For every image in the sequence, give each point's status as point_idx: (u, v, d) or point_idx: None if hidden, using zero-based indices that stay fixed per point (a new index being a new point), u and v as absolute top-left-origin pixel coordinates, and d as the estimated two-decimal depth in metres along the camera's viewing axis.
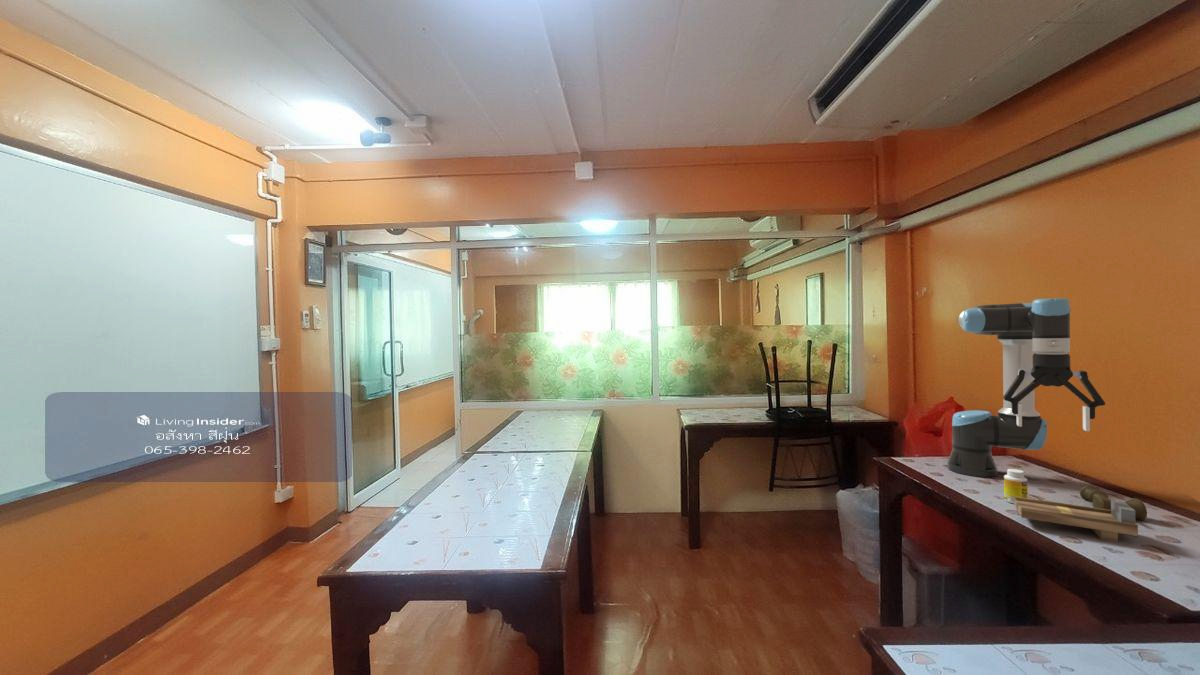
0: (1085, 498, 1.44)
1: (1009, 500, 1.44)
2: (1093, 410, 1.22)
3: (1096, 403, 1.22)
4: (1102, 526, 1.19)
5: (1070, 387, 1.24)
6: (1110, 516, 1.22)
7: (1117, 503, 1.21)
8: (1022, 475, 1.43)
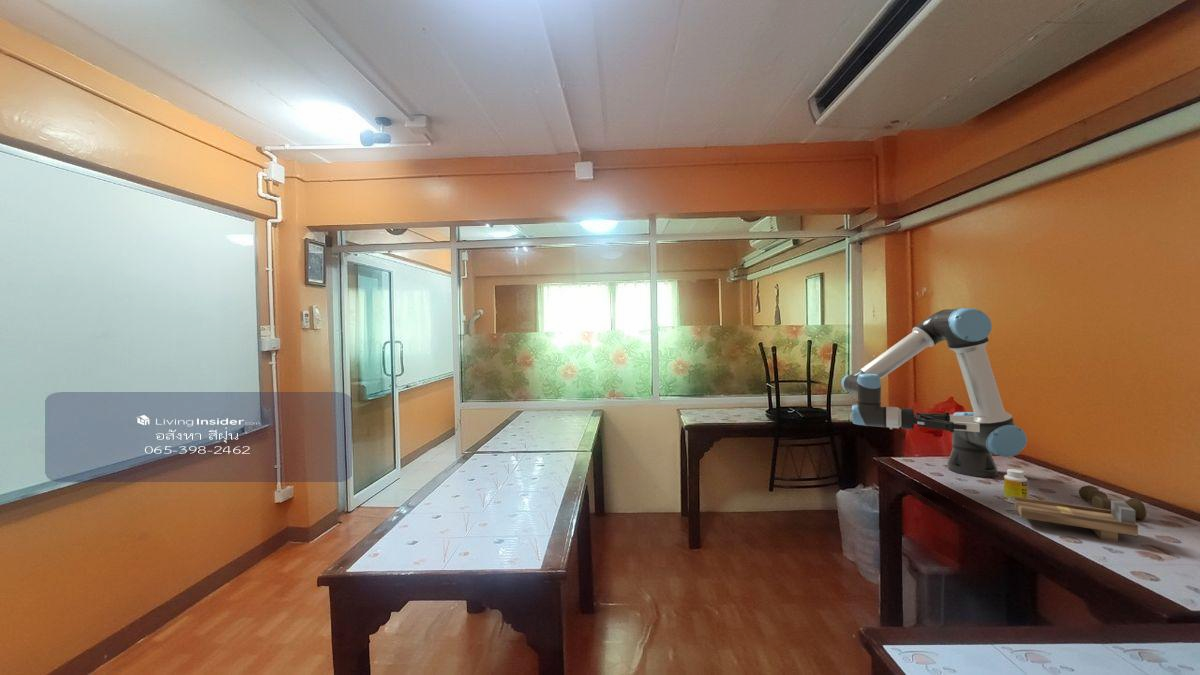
0: (1084, 498, 1.44)
1: (1009, 500, 1.44)
2: None
3: None
4: (1102, 526, 1.19)
5: None
6: (1110, 516, 1.22)
7: (1117, 503, 1.21)
8: (1022, 475, 1.43)
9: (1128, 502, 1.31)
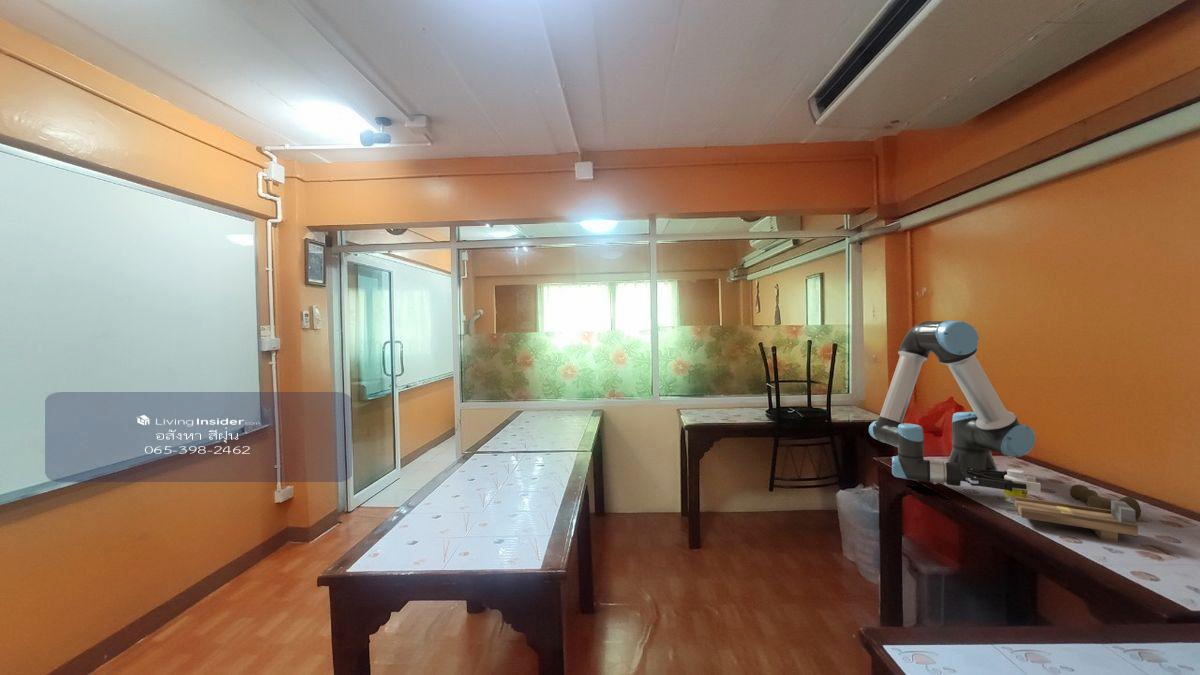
0: (1075, 497, 1.45)
1: (1009, 500, 1.44)
2: None
3: None
4: (1102, 526, 1.19)
5: None
6: (1110, 516, 1.22)
7: (1117, 503, 1.21)
8: (1022, 475, 1.43)
9: (1123, 501, 1.32)
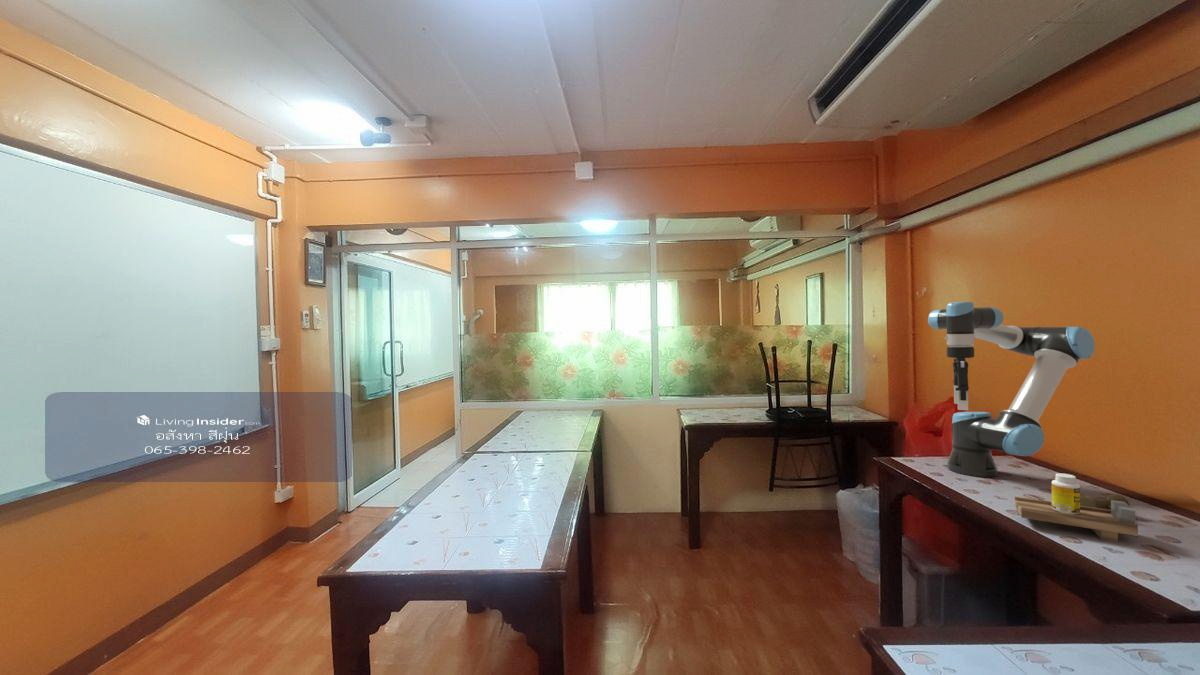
0: None
1: (1058, 509, 1.25)
2: (960, 393, 1.51)
3: None
4: (1102, 526, 1.19)
5: (956, 373, 1.55)
6: (1110, 516, 1.22)
7: (1117, 503, 1.21)
8: (1074, 481, 1.24)
9: (1112, 499, 1.34)
